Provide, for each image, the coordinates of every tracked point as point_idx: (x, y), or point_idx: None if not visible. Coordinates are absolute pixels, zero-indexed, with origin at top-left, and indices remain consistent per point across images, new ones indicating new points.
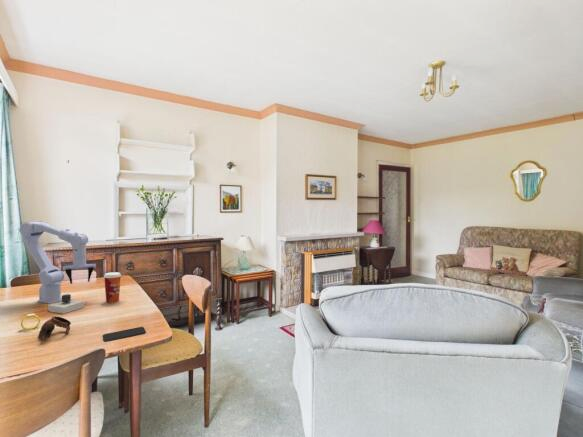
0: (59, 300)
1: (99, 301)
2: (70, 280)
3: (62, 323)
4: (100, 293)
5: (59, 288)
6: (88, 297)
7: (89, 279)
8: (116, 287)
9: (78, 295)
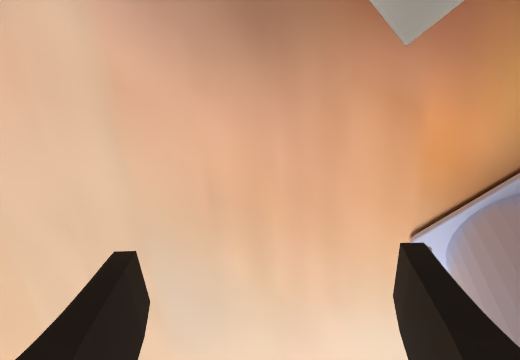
0: (461, 209)
1: (58, 14)
2: (445, 284)
3: None
4: None
5: (506, 321)
6: (209, 219)
7: (92, 279)
8: None
9: (300, 307)
